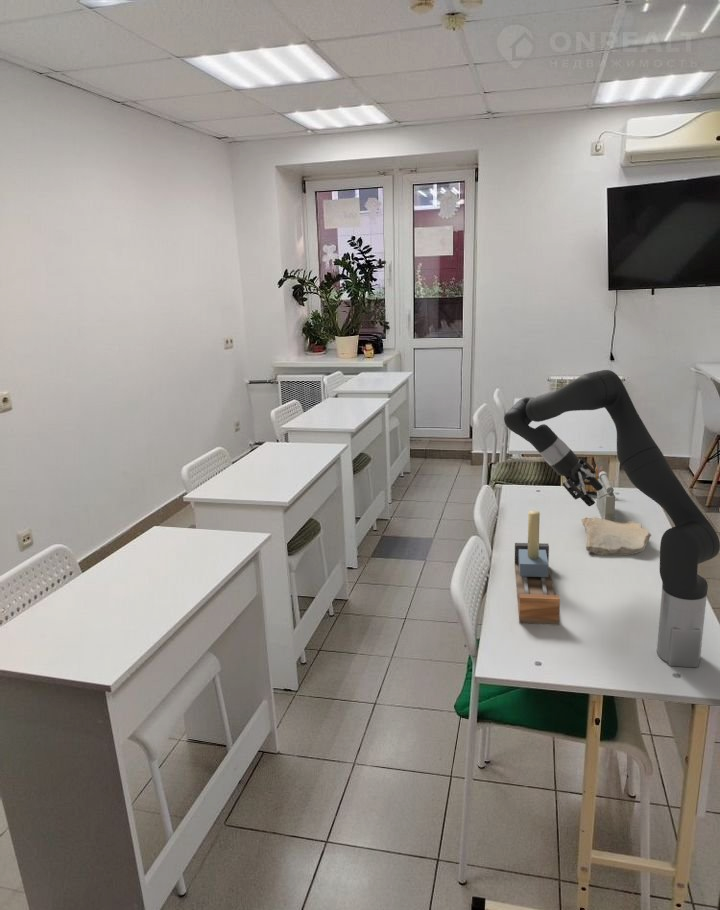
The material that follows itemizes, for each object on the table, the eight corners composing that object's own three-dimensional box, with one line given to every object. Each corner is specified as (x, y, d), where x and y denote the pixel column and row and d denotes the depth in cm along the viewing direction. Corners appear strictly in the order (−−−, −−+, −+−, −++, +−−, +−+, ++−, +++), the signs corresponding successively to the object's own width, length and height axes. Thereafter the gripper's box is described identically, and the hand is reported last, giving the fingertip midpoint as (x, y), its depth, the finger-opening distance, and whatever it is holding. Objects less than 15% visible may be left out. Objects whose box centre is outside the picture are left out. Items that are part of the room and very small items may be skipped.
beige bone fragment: (640, 530, 222) (580, 522, 228) (644, 511, 220) (583, 503, 225) (650, 564, 200) (582, 554, 206) (654, 542, 198) (586, 533, 203)
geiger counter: (619, 488, 221) (607, 466, 244) (599, 488, 222) (590, 466, 245) (616, 526, 225) (605, 500, 248) (597, 525, 226) (588, 500, 249)
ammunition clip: (602, 493, 255) (604, 464, 252) (602, 495, 254) (604, 466, 250) (574, 491, 259) (575, 463, 256) (574, 493, 257) (575, 465, 254)
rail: (558, 624, 168) (559, 599, 165) (519, 623, 170) (519, 597, 167) (547, 565, 199) (548, 543, 197) (514, 564, 201) (514, 542, 199)
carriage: (548, 577, 187) (549, 519, 181) (519, 576, 188) (520, 519, 183) (545, 561, 196) (546, 506, 191) (518, 561, 198) (519, 506, 192)
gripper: (560, 462, 181) (599, 504, 181) (575, 438, 191) (612, 478, 191) (541, 474, 186) (579, 515, 186) (557, 450, 196) (593, 489, 196)
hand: (596, 496), depth 189 cm, fingers open, 8 cm apart
